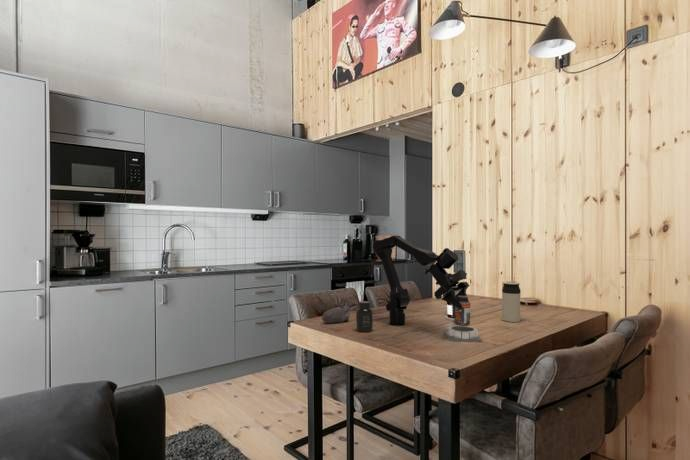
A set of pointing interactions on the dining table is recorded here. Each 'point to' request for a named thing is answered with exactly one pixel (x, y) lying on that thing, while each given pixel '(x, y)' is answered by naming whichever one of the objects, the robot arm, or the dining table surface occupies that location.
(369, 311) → the supplement bottle
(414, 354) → the dining table surface
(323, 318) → the perforated stone tool
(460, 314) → the supplement bottle
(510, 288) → the travel mug
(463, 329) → the collar
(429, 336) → the dining table surface
